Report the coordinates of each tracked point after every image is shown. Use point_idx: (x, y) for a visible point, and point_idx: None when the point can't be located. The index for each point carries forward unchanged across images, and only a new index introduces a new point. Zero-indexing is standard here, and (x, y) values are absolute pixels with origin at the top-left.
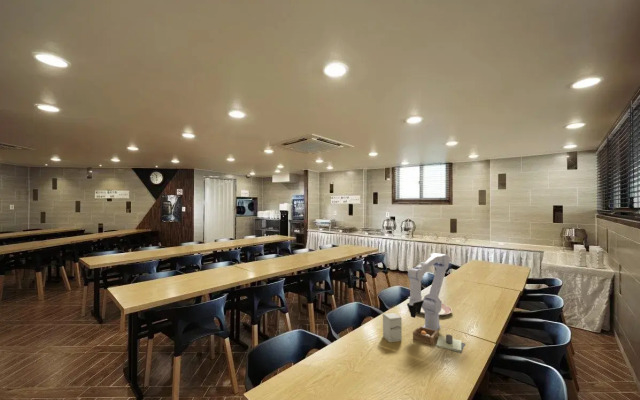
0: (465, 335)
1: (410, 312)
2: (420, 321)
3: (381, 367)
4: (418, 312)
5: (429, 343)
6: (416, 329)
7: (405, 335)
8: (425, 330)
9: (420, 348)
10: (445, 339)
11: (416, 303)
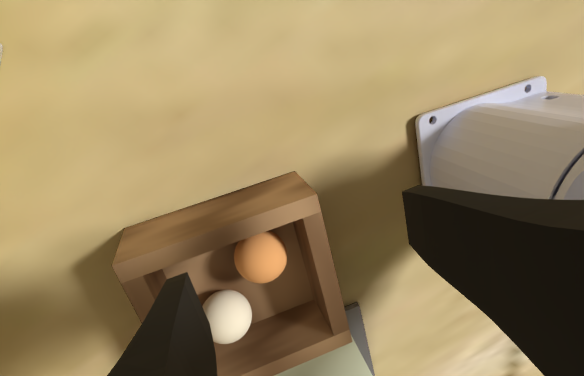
0: (491, 341)
1: (137, 342)
2: (531, 10)
3: None
4: (417, 237)
5: None
6: (212, 237)
7: (135, 124)
8: (308, 251)
9: (56, 354)
10: (326, 365)
11: (566, 292)
